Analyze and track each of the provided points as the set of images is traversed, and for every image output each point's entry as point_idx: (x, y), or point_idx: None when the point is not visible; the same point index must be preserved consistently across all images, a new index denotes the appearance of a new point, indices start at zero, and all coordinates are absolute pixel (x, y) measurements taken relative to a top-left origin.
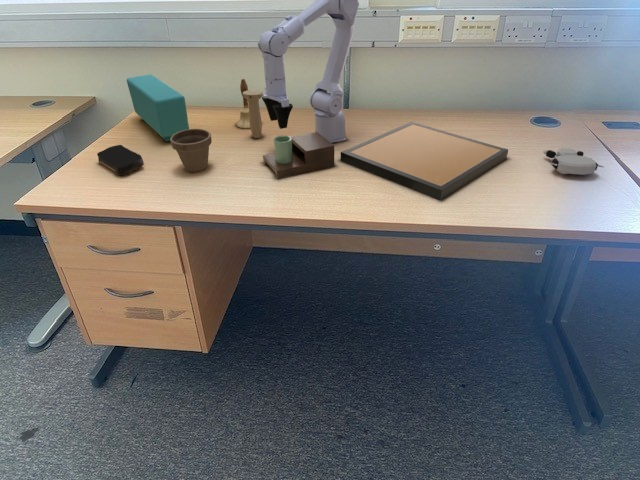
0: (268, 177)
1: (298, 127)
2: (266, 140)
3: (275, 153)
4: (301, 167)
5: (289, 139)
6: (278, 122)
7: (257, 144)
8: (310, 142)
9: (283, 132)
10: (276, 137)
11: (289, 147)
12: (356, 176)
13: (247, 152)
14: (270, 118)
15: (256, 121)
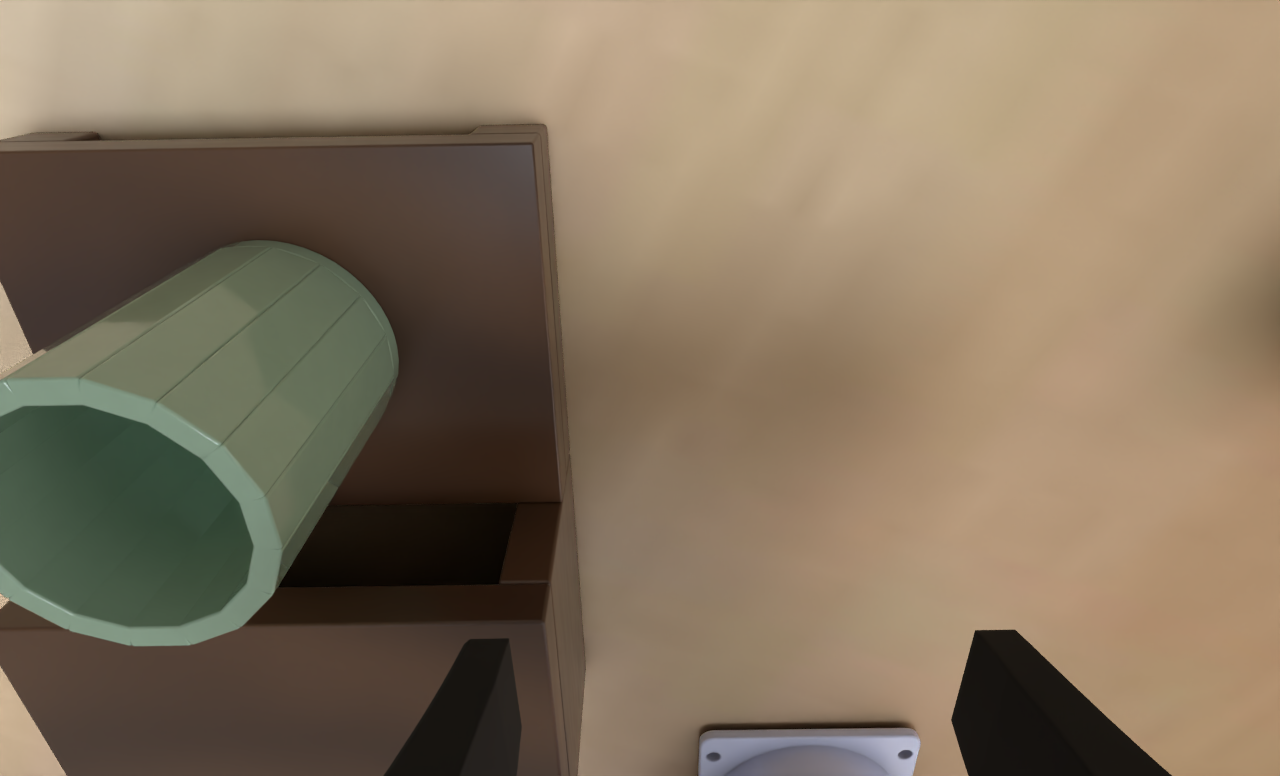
0: (98, 38)
1: (1212, 718)
2: (1170, 374)
3: (179, 282)
4: None
5: (171, 603)
6: (436, 737)
7: (1144, 240)
8: (273, 743)
9: (1220, 584)
10: (208, 462)
11: (70, 508)
12: (26, 726)
13: (996, 24)
14: (1001, 662)
15: None
